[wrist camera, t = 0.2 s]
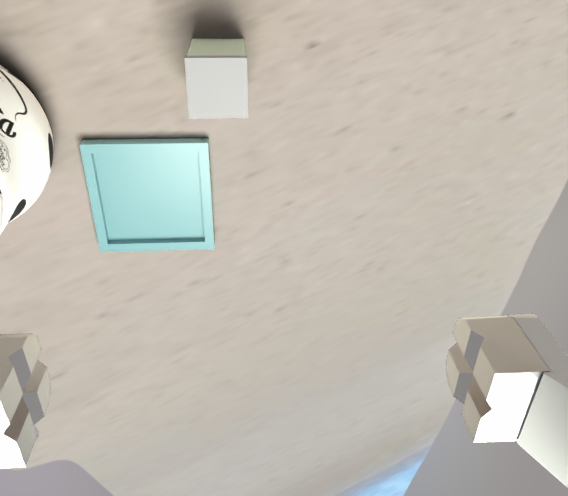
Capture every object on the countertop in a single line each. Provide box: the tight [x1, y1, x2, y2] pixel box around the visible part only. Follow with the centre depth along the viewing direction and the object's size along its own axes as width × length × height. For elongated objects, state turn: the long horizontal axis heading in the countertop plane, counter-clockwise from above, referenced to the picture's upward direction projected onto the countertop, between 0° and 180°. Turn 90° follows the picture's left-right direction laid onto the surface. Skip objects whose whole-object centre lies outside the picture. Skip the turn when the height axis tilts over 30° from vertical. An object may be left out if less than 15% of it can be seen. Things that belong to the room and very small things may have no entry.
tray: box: [79, 138, 215, 252], centre depth 60 cm, size 13×13×1 cm
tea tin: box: [184, 39, 248, 119], centre depth 50 cm, size 5×5×8 cm
